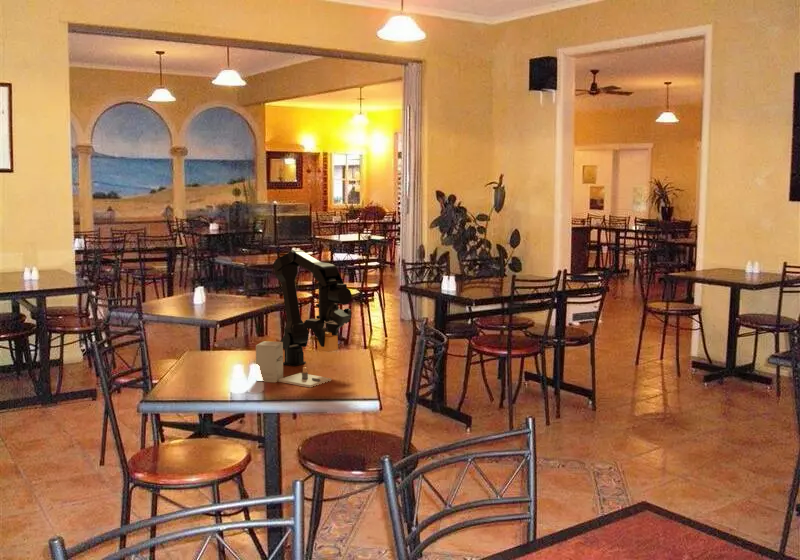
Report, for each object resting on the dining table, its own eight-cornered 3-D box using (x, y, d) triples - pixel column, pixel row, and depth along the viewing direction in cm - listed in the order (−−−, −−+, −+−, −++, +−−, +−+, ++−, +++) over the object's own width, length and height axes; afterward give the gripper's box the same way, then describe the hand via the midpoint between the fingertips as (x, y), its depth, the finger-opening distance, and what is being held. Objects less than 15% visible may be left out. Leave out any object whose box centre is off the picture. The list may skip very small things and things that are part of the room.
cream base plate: (278, 381, 278) (278, 368, 278) (300, 374, 287) (299, 362, 287) (310, 387, 270) (310, 373, 270) (331, 380, 279) (331, 367, 279)
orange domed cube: (317, 350, 287) (317, 333, 286) (326, 347, 291) (326, 330, 290) (328, 351, 284) (328, 334, 283) (337, 349, 288) (337, 332, 287)
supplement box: (276, 382, 277) (275, 345, 275) (255, 381, 278) (254, 344, 277) (284, 377, 284) (283, 341, 282) (263, 376, 285) (263, 340, 284)
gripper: (327, 306, 273) (328, 352, 275) (361, 299, 288) (362, 343, 290) (302, 303, 279) (303, 349, 281) (336, 297, 295) (337, 340, 297)
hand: (327, 345), depth 287 cm, fingers closed on orange domed cube, 5 cm apart
